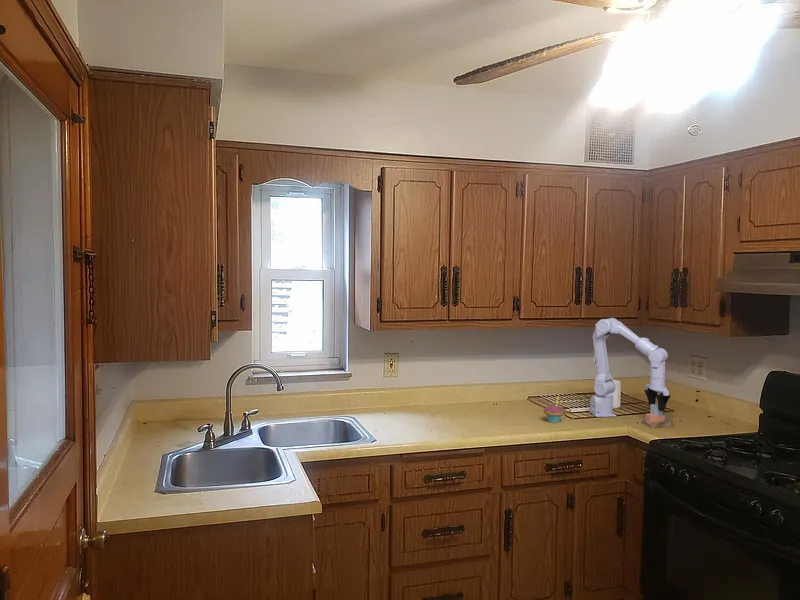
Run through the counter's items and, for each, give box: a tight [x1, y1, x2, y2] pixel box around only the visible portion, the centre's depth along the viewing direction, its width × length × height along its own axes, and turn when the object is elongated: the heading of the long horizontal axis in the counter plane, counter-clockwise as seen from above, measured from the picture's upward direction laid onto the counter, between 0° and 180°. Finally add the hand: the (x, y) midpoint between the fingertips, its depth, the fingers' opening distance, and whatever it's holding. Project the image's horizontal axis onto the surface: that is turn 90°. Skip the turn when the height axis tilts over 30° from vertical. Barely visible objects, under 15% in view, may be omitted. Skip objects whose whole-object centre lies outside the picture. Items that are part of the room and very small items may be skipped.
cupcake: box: [543, 394, 565, 424], centre depth 257 cm, size 9×8×12 cm
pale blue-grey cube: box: [649, 403, 664, 416], centre depth 251 cm, size 4×4×4 cm
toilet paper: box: [613, 379, 622, 409], centre depth 285 cm, size 10×10×12 cm
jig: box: [641, 417, 675, 429], centre depth 252 cm, size 10×8×2 cm
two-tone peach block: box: [645, 412, 669, 424], centre depth 252 cm, size 8×4×4 cm, turn 96°
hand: (656, 408), depth 251 cm, fingers open, 7 cm apart
